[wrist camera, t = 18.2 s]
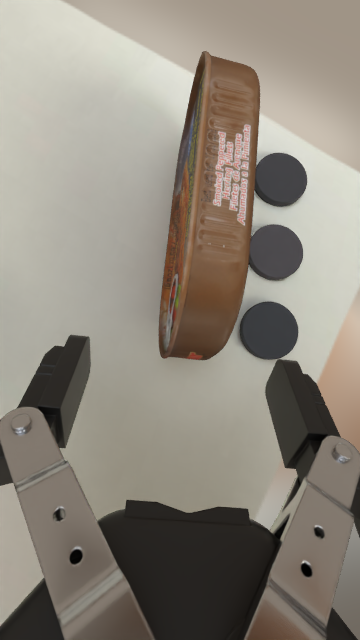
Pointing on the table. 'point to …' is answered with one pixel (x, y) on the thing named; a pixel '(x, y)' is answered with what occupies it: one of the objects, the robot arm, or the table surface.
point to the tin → (211, 211)
